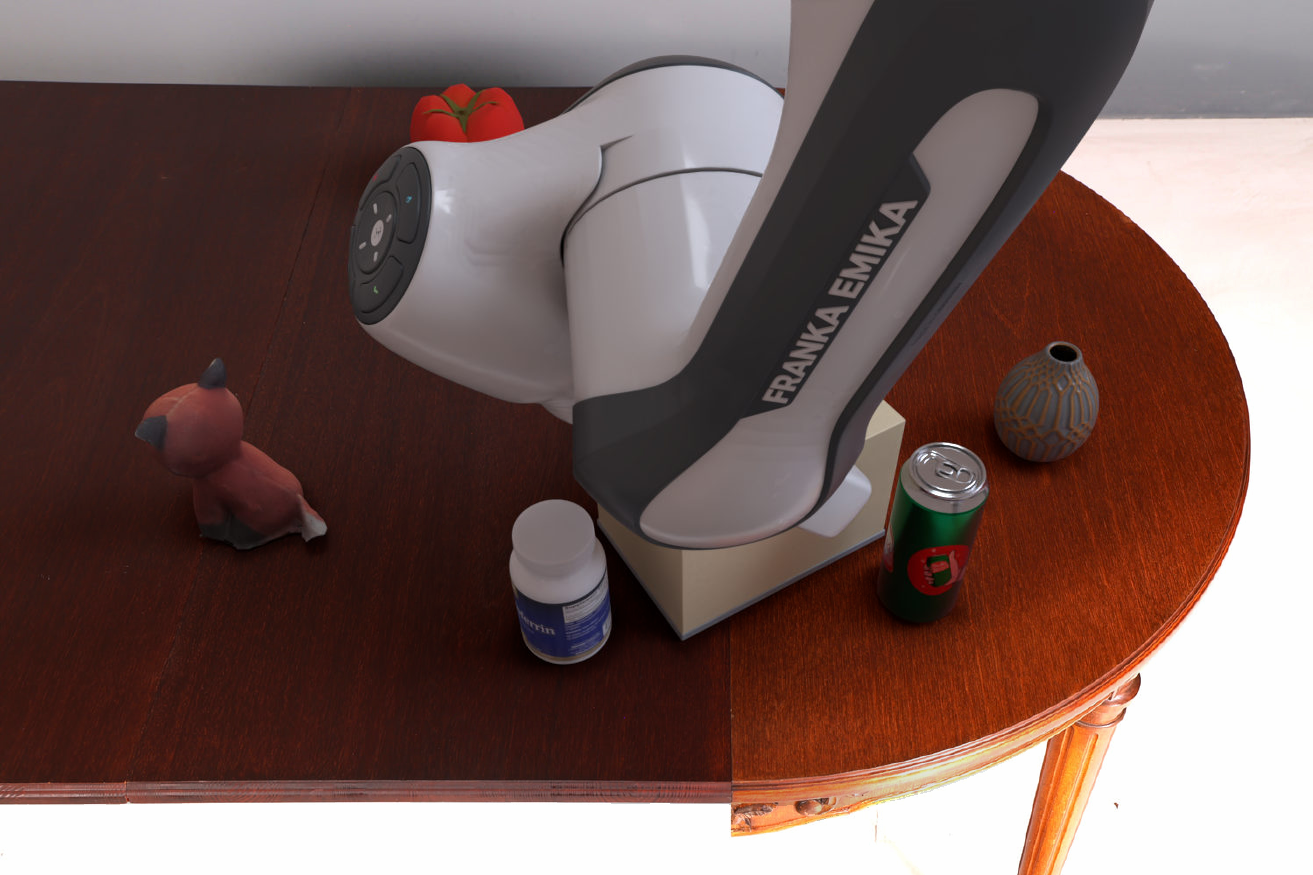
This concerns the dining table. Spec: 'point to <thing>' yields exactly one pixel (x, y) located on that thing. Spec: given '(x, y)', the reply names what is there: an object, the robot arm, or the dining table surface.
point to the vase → (1047, 404)
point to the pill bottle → (560, 582)
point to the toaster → (757, 548)
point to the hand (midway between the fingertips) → (792, 422)
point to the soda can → (932, 531)
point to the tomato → (465, 116)
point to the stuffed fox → (225, 466)
